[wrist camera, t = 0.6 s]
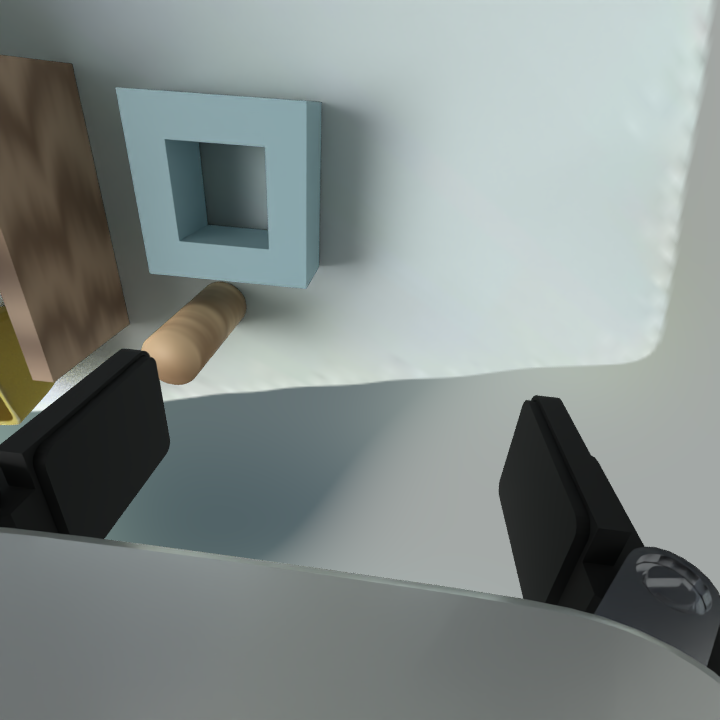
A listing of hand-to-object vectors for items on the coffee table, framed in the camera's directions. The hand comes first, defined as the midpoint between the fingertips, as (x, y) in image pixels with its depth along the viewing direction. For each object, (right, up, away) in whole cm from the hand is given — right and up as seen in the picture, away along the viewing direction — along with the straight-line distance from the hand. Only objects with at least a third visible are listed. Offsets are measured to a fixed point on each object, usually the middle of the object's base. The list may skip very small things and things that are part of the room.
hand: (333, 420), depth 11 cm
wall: (-21, +14, +24) cm, 35 cm away
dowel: (-11, +6, +27) cm, 30 cm away
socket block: (-8, +15, +22) cm, 28 cm away
